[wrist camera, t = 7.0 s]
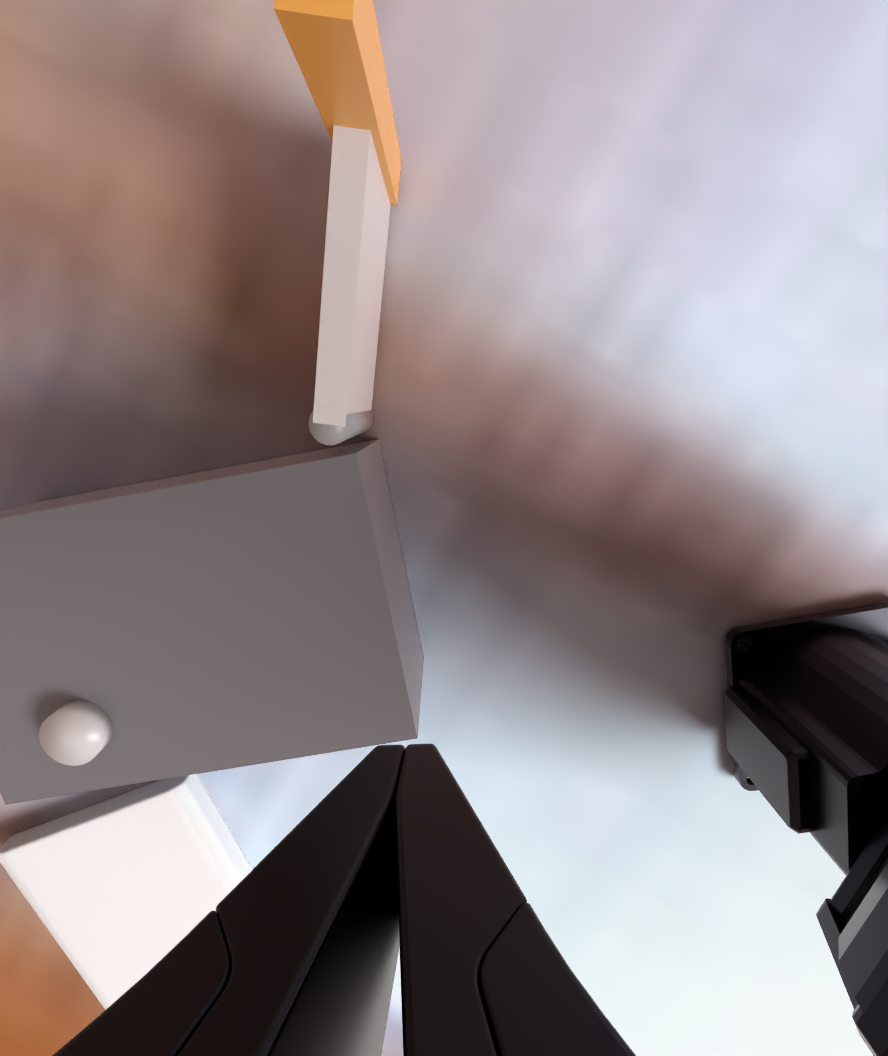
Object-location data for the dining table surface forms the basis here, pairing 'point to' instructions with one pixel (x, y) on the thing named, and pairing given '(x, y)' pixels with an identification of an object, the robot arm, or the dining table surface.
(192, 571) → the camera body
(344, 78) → the side door
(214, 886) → the external hard drive
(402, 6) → the dining table surface
